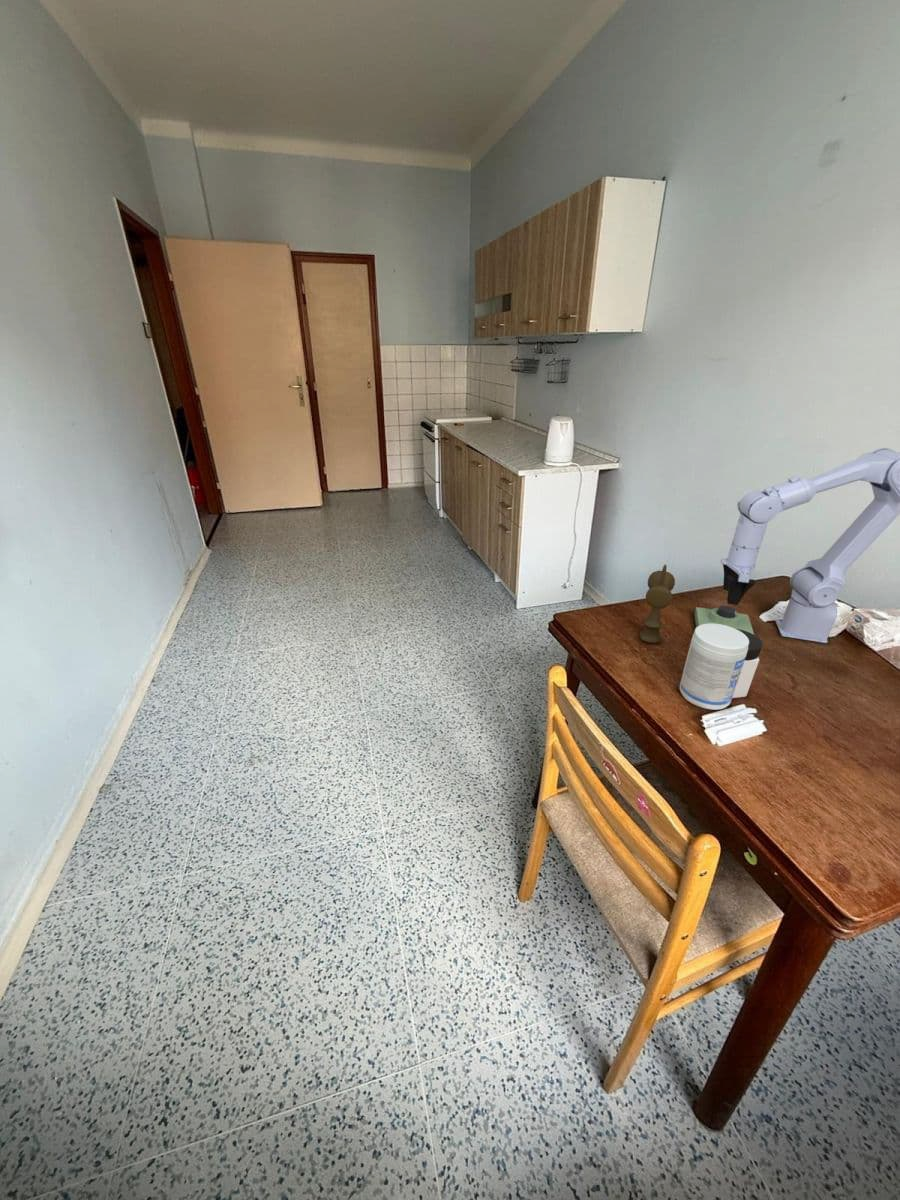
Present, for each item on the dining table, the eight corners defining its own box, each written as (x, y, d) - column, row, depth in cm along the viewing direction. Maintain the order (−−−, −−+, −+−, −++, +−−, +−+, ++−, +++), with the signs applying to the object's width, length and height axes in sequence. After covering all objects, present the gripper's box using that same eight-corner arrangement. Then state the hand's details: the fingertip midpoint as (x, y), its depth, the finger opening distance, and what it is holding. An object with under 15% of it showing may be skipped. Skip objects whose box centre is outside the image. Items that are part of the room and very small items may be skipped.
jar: (754, 688, 98) (772, 640, 92) (736, 705, 94) (754, 656, 88) (711, 668, 104) (725, 622, 99) (692, 683, 100) (706, 636, 94)
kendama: (663, 632, 118) (680, 558, 109) (661, 652, 110) (679, 575, 101) (638, 627, 120) (652, 554, 111) (634, 646, 113) (649, 570, 103)
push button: (732, 613, 119) (734, 606, 118) (734, 619, 116) (736, 613, 115) (716, 610, 120) (718, 604, 119) (718, 617, 117) (719, 611, 116)
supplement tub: (733, 716, 91) (755, 653, 84) (680, 706, 94) (697, 644, 87) (725, 686, 99) (745, 626, 92) (676, 677, 102) (692, 619, 95)
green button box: (745, 622, 122) (750, 608, 120) (751, 642, 113) (756, 627, 111) (694, 614, 126) (697, 601, 124) (696, 633, 117) (700, 619, 115)
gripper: (722, 532, 116) (709, 582, 122) (730, 554, 104) (715, 607, 110) (755, 535, 114) (739, 585, 120) (767, 558, 102) (749, 612, 108)
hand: (730, 596), depth 115 cm, fingers open, 7 cm apart
